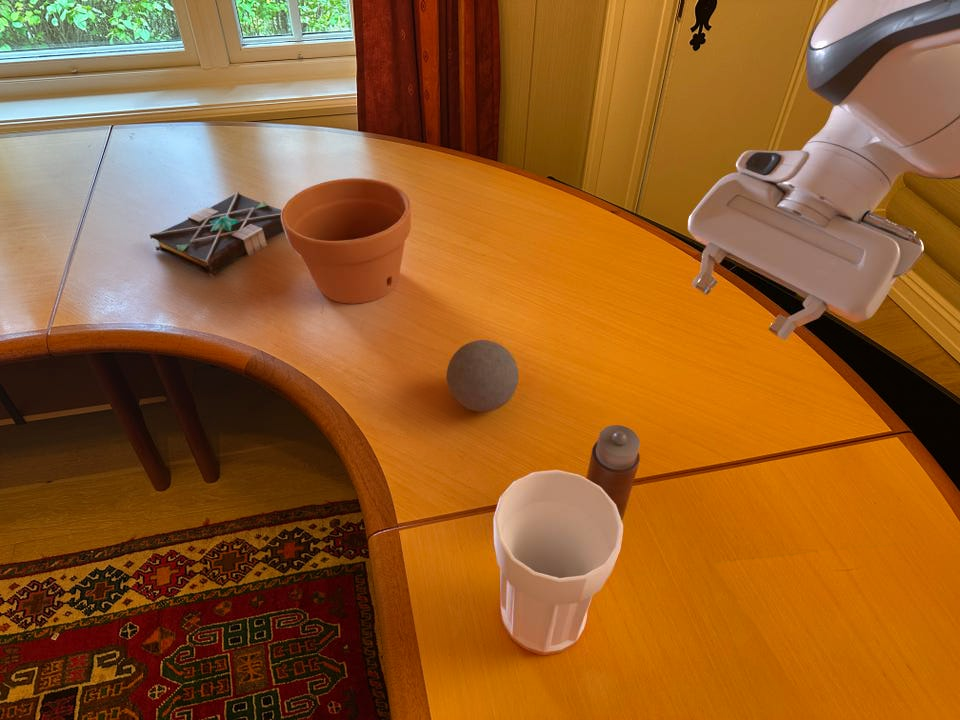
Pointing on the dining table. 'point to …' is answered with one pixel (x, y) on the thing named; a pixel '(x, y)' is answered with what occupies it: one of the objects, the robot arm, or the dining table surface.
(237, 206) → the book
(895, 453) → the dining table surface
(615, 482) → the pepper mill
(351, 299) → the flower pot
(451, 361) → the decorative ball
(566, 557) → the cup
